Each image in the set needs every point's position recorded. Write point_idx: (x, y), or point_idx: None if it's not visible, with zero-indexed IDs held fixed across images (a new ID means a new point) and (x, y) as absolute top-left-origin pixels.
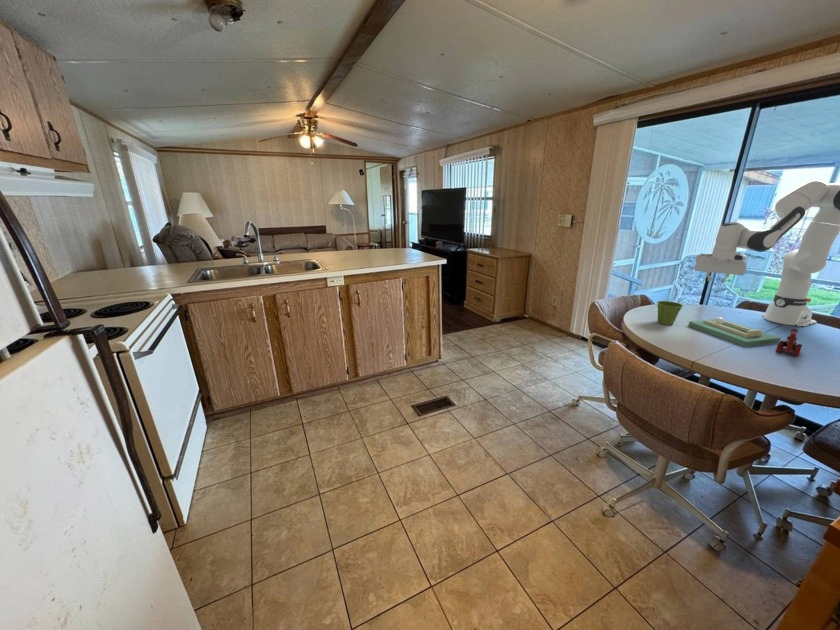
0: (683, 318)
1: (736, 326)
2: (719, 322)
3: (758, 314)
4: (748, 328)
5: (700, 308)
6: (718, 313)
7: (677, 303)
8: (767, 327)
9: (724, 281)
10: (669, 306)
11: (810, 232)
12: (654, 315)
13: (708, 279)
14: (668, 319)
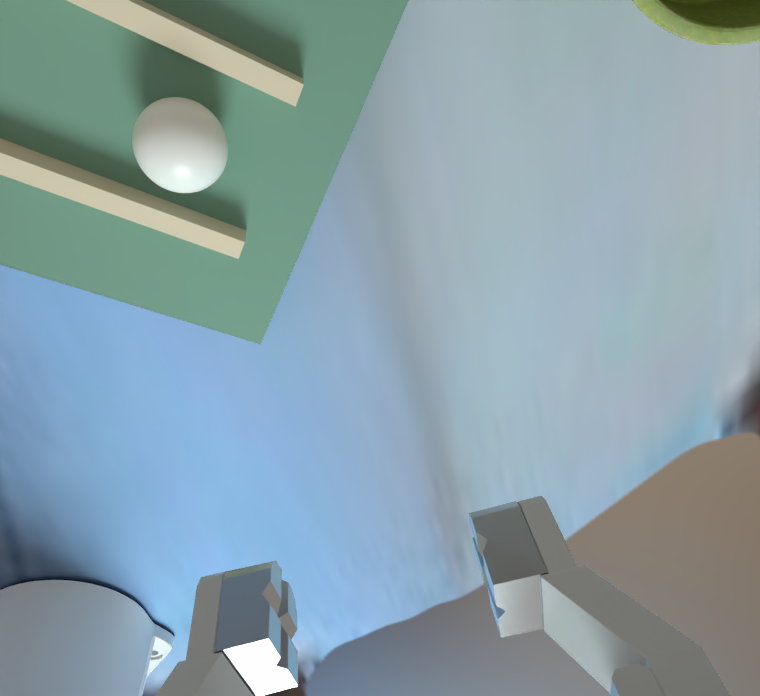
0: (494, 219)
1: (24, 156)
2: (157, 101)
3: None
4: None
5: (455, 537)
6: (346, 521)
7: (676, 13)
8: (24, 470)
9: (196, 592)
10: None
11: None
12: (725, 93)
13: (534, 518)
14: None
